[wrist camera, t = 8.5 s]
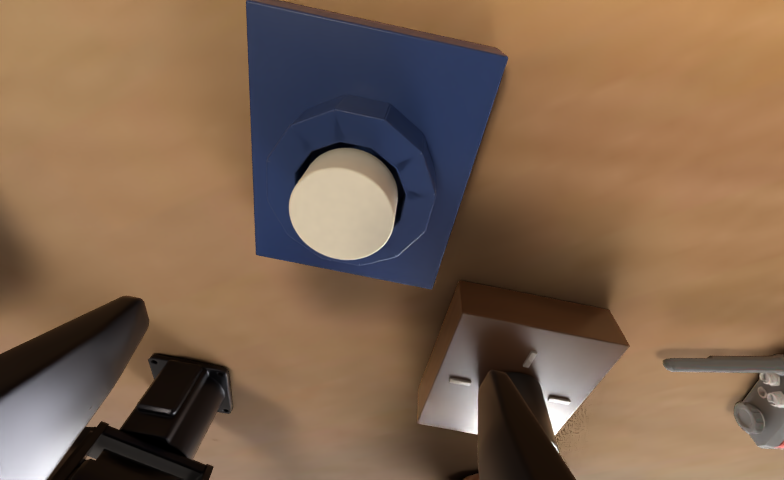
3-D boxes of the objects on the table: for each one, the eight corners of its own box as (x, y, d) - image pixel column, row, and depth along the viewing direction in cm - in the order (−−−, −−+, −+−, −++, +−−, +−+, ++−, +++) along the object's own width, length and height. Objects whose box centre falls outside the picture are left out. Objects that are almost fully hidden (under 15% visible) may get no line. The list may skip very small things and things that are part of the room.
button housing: (432, 261, 23) (432, 320, 19) (272, 229, 22) (237, 282, 18) (498, 48, 16) (522, 66, 12) (271, -2, 16) (214, -1, 11)
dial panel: (535, 410, 30) (545, 449, 28) (417, 388, 30) (416, 425, 27) (609, 309, 24) (632, 348, 21) (458, 279, 23) (462, 315, 21)
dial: (551, 378, 23) (573, 447, 20) (527, 412, 25) (543, 480, 22) (489, 366, 23) (500, 434, 20) (471, 402, 25) (478, 468, 22)
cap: (389, 240, 17) (384, 268, 15) (301, 223, 16) (287, 249, 15) (406, 158, 14) (403, 180, 13) (306, 137, 14) (289, 157, 12)
